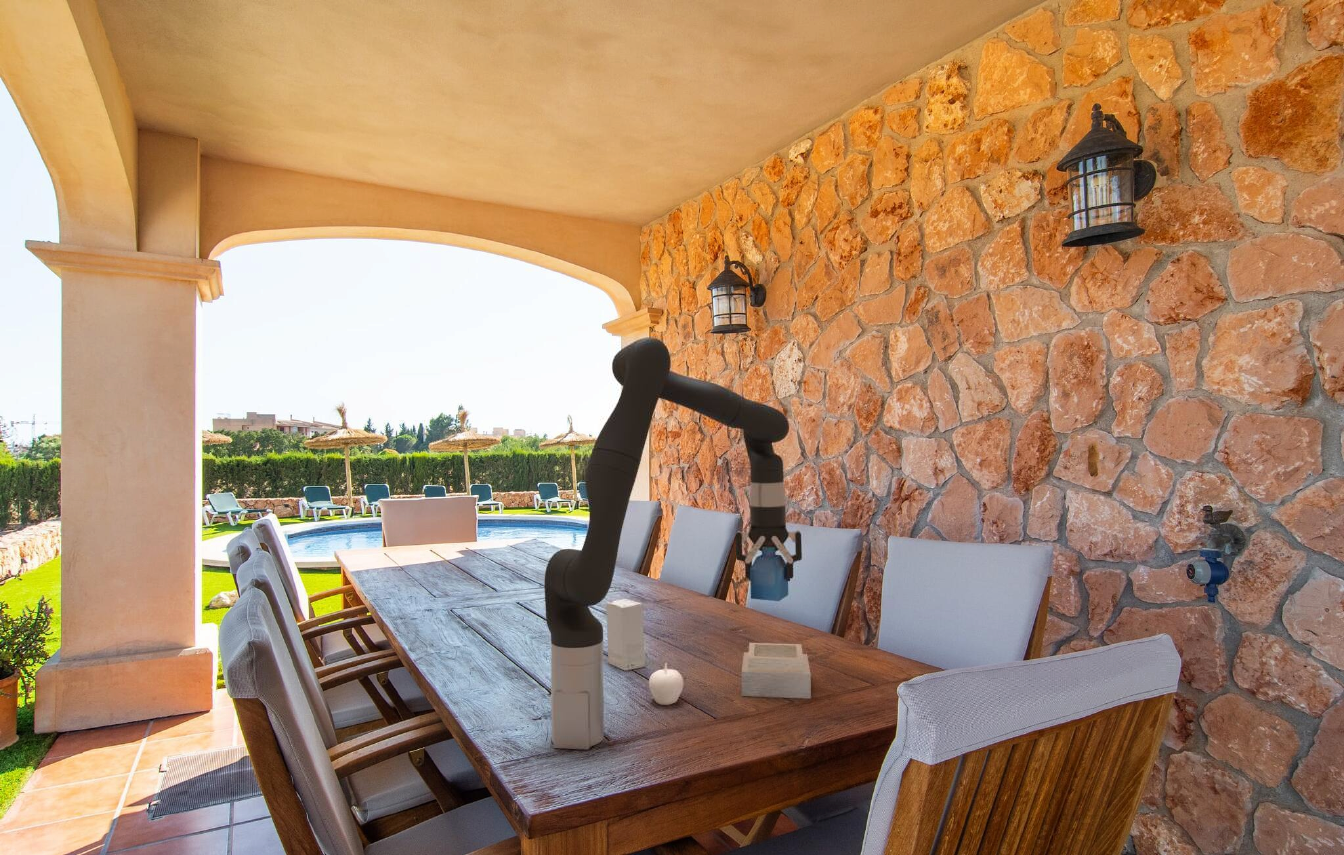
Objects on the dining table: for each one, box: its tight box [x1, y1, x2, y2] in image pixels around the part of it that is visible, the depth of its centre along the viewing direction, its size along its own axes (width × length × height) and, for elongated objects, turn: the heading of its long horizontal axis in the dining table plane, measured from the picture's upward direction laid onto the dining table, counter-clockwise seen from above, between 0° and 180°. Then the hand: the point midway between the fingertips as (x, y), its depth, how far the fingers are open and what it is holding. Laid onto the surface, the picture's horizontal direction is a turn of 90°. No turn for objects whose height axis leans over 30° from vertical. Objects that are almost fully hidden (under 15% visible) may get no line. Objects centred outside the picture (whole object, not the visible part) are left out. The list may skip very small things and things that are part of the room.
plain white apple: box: [648, 662, 684, 706], centre depth 146 cm, size 7×7×8 cm
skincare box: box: [605, 598, 646, 671], centre depth 171 cm, size 8×6×15 cm
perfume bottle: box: [749, 541, 789, 602], centre depth 154 cm, size 6×6×12 cm
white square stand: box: [741, 642, 812, 700], centre depth 155 cm, size 14×14×8 cm
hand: (769, 580), depth 154 cm, fingers closed on perfume bottle, 7 cm apart
